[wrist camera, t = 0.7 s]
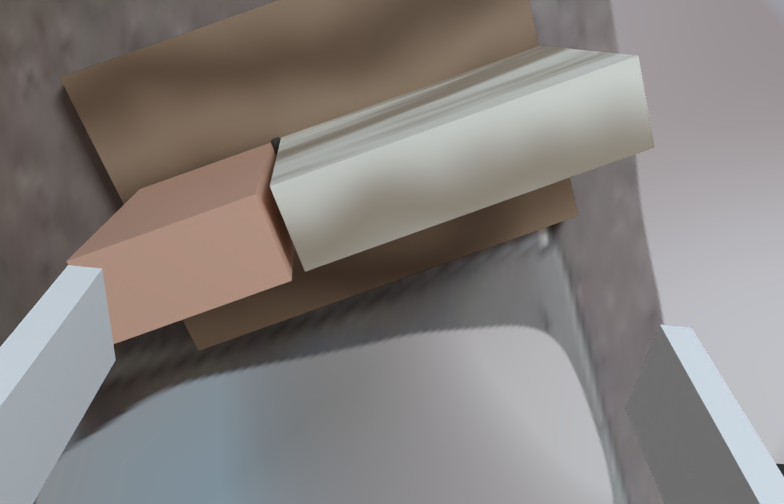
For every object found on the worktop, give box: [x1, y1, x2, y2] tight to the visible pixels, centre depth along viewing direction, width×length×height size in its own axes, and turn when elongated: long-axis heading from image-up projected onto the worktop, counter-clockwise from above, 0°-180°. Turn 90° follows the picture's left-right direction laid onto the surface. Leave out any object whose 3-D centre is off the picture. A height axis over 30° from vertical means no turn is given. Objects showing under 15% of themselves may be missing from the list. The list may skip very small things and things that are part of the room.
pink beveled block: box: [67, 143, 294, 344], centre depth 32 cm, size 4×8×12 cm, turn 108°
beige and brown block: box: [60, 0, 654, 351], centre depth 33 cm, size 18×26×14 cm
